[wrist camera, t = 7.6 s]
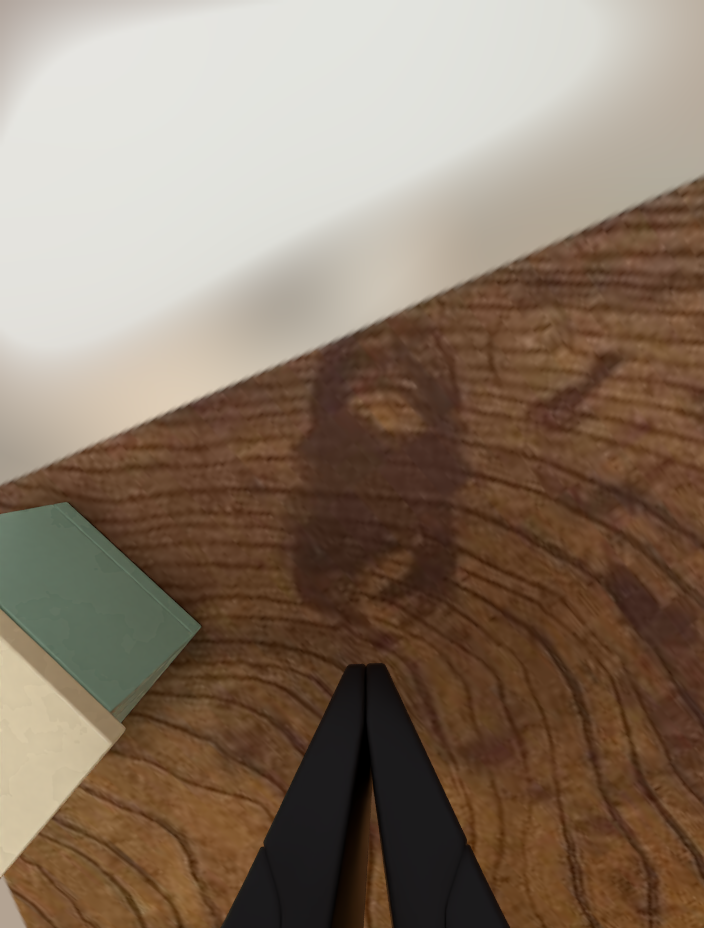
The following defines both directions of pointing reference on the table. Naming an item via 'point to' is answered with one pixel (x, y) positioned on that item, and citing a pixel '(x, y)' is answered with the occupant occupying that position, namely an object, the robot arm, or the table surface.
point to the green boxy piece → (88, 605)
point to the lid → (42, 738)
